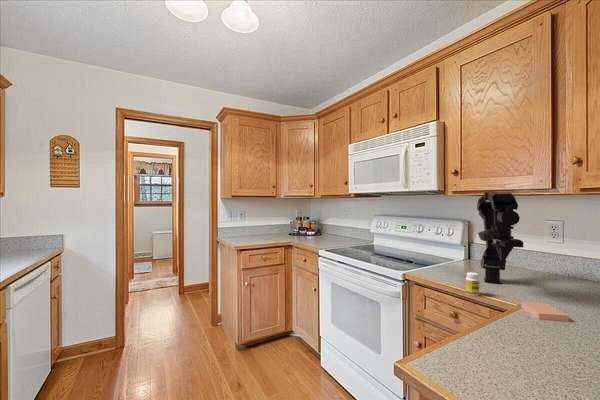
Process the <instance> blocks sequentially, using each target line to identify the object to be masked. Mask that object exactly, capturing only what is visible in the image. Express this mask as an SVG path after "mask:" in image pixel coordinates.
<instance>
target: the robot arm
mask: <svg viewBox="0 0 600 400" xmlns="http://www.w3.org/2000/svg"><path fill="white" fill-rule="evenodd" d="M518 208H519V203H518V201H517V199H516V197H515V195H513V193H512V192H497V191H486V192H484V193H483V195H482V196H481V197H479V199H478V201H477V203H476V210H477V211H478V215H479V216H480V217H481V219H482V220H483V228H484V229H483V230H482V231H479V232H477V234H478V237H479V239H480V241H483V242H485V246H486V248H485V250H484V251H483V253H482V256H481V260H480V267H481V268H482V269H483V270H484V277H483V281H484V283H491V284H497V285H502V284H503V282H502V281H501V270H502V271H506V264H507V258H508V256H509V255H510V253H511V252H512V250H513V249H514V248H524V241H522V240H521V239H519V238H514V236H512V230H513V229H514V226H515V225H517V224H518V223H519V222H520V215H519V214H518V212H516V211H517V210H518ZM515 210H516V211H515Z"/></svg>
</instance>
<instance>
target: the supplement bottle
mask: <svg viewBox="0 0 600 400" xmlns="http://www.w3.org/2000/svg"><path fill="white" fill-rule="evenodd" d="M465 293H466V295H468V296H472V297H473V296H474V297H478V296H479V295H480V278H479V274H478V273H476V272H470V271H469V272H466V277H465Z"/></svg>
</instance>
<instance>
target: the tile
mask: <svg viewBox="0 0 600 400" xmlns="http://www.w3.org/2000/svg"><path fill="white" fill-rule="evenodd" d="M521 309H523V310H525V311H526V312H528V313H529V314H530V315H532V316H534V317H535V318H536V319H538V320H544V321H545V320H546V321H554V322H555V321H556V322H569V314H566V313H564V312H563V311H561V310H560V309H558V308H556V307H554V306H552V304H549V303H540V302H526V301H521Z"/></svg>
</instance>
